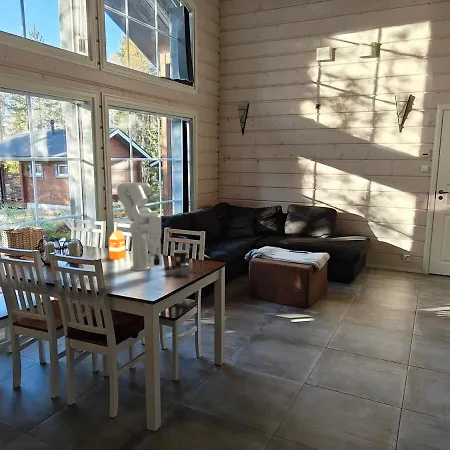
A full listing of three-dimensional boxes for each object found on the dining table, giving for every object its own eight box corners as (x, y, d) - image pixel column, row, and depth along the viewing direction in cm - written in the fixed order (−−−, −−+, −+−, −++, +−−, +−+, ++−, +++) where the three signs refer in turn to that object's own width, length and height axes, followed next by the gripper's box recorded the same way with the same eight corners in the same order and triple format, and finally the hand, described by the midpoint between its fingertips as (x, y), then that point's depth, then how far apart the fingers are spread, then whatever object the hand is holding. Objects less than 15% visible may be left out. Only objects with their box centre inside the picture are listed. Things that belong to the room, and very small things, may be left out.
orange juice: (109, 258, 295) (108, 231, 292) (117, 256, 303) (116, 229, 300) (118, 259, 292) (117, 232, 289) (125, 257, 300) (124, 230, 297)
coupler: (166, 273, 257) (166, 262, 256) (189, 273, 258) (188, 262, 257) (166, 276, 250) (165, 265, 249) (189, 276, 251) (188, 265, 250)
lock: (147, 264, 251) (147, 252, 249) (158, 262, 254) (158, 250, 253) (151, 267, 246) (151, 254, 244) (162, 265, 249) (162, 253, 248)
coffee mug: (171, 265, 276) (170, 251, 274) (180, 263, 282) (180, 249, 280) (182, 268, 268) (182, 254, 266) (192, 266, 274) (192, 251, 273)
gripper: (144, 232, 252) (144, 260, 255) (154, 238, 237) (154, 268, 241) (155, 231, 255) (155, 258, 259) (166, 237, 241) (165, 266, 245)
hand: (154, 263), depth 250 cm, fingers closed on lock, 6 cm apart
